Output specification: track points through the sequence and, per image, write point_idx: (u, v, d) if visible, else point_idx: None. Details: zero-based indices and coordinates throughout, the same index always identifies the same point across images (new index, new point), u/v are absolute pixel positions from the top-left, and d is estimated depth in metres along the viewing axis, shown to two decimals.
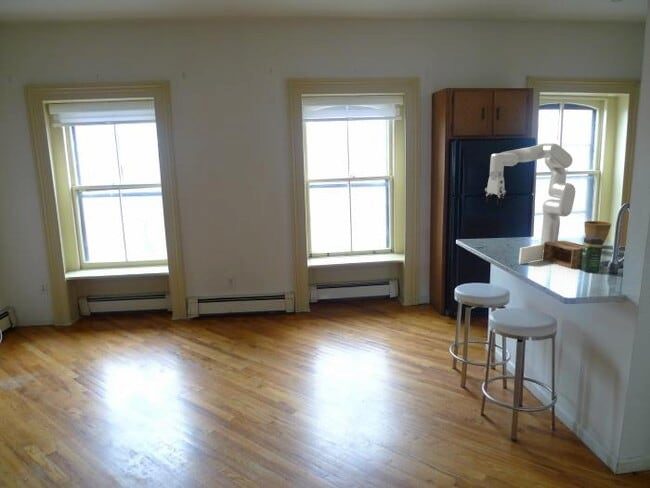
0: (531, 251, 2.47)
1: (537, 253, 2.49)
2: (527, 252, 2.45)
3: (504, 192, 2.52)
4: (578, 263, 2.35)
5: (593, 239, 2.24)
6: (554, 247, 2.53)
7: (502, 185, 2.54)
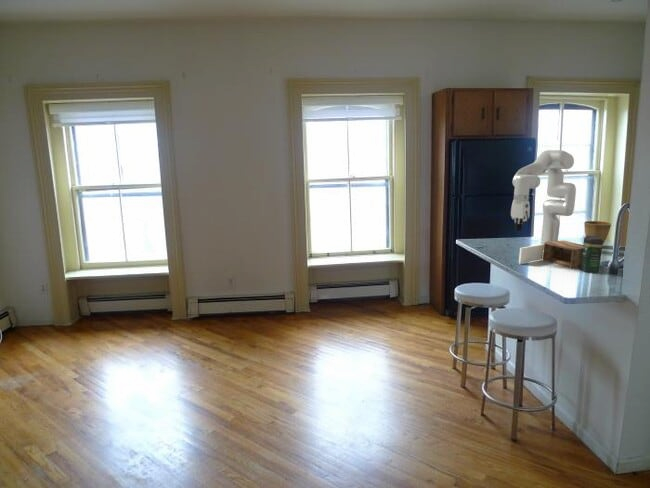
0: (531, 251, 2.47)
1: (537, 253, 2.49)
2: (527, 252, 2.45)
3: None
4: (578, 263, 2.35)
5: (593, 239, 2.24)
6: (554, 247, 2.53)
7: (527, 209, 2.40)
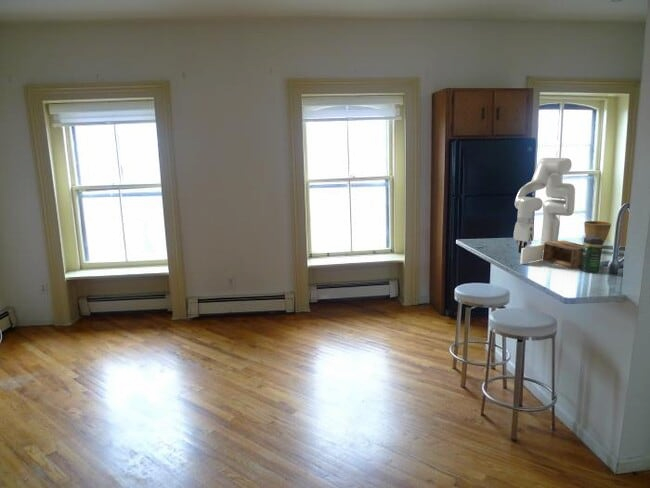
0: (532, 251, 2.46)
1: (537, 253, 2.49)
2: (528, 252, 2.44)
3: None
4: (578, 263, 2.35)
5: (593, 239, 2.24)
6: (554, 247, 2.53)
7: (532, 232, 2.40)
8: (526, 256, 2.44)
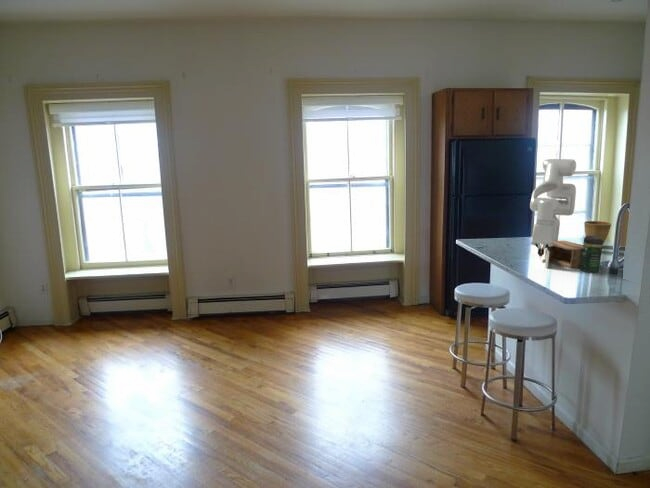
0: None
1: None
2: None
3: None
4: (578, 263, 2.35)
5: (593, 239, 2.24)
6: (554, 247, 2.53)
7: None
8: None
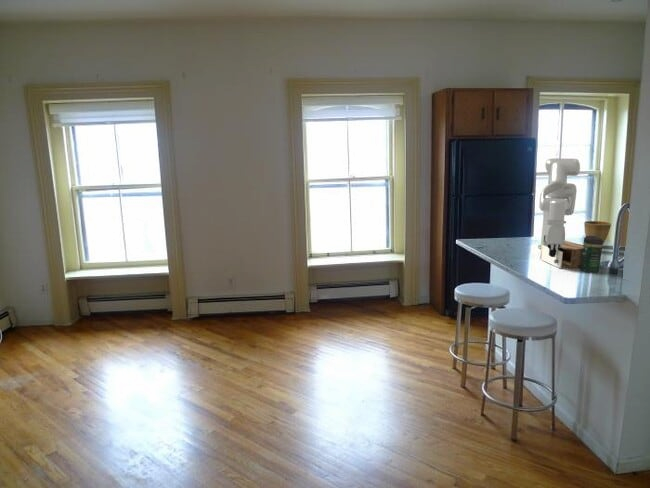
0: None
1: None
2: None
3: (561, 245, 2.35)
4: (578, 263, 2.35)
5: (593, 239, 2.24)
6: None
7: None
8: None
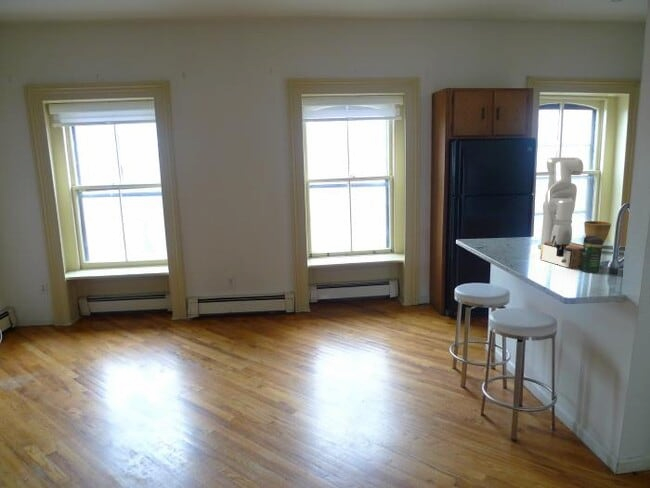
0: None
1: None
2: None
3: (567, 245, 2.37)
4: (578, 263, 2.35)
5: (593, 239, 2.24)
6: None
7: None
8: None
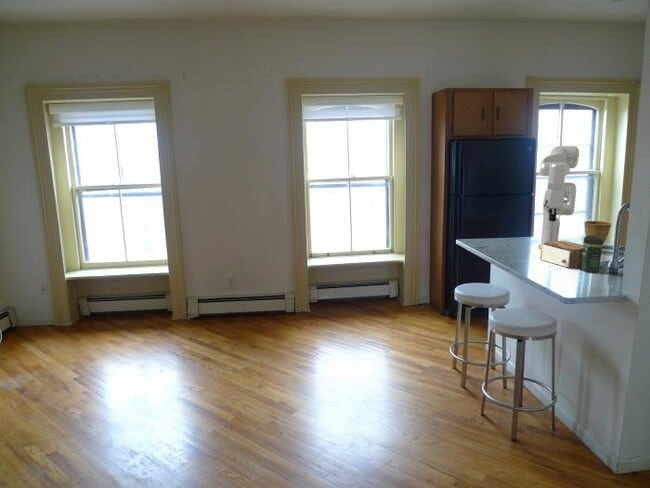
0: None
1: None
2: None
3: (560, 209, 2.36)
4: (578, 263, 2.35)
5: (593, 239, 2.24)
6: None
7: None
8: None
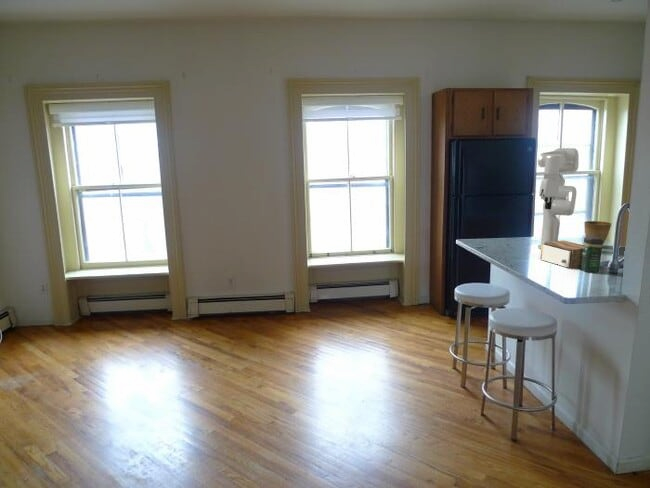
0: None
1: None
2: None
3: (555, 198, 2.52)
4: (578, 263, 2.35)
5: (593, 239, 2.24)
6: None
7: None
8: None
